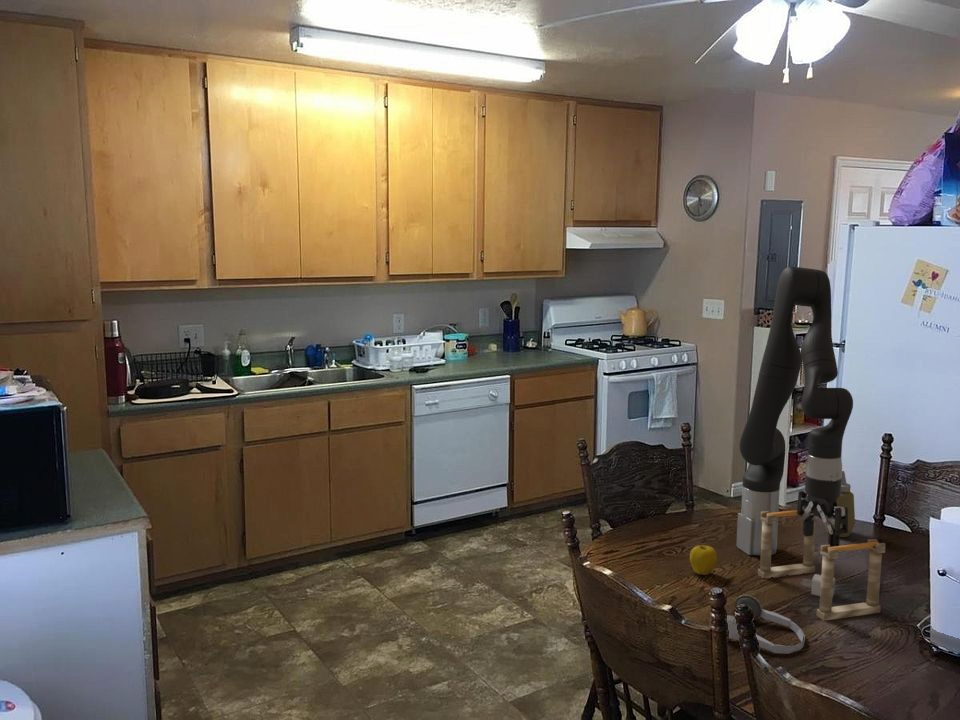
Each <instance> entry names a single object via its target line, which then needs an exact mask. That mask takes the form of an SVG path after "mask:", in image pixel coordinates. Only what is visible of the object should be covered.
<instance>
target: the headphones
mask: <svg viewBox="0 0 960 720" xmlns="http://www.w3.org/2000/svg"><path fill="white" fill-rule="evenodd" d="M722 589H723V590H726V591H730V592H732V593H730V594H729V596H728V598H729V599H730V600H731V601H733V600H732V598H731V597H730V596H731V595H734V594H735V592H734V591H733V590H732V589H729V588H725V587H724V588H723V587H722ZM734 602H735V603H734V607H735V609H736V606H738V605H740V604H745V605H749V606H750V607H751V608H752V610H753V612H754V620H753V621H757V620H758V619H760V617H761V618H763V619H764V620H766V621H769V622H773V623H776V624H779V625H782V626H785V627H789V629H791V630H792V631H793V632H794V633H795V634H796V636H797V638H798V639H799V641H800V642H799V643H797V644H792V645H782V644H776V643H775V644H774V643H773V642H771V641H769V640H767V639H765V638H763V637H762V636H760V635H758V634H756V637H757V640H758V642H759V646H760V647H759V648H762V649H764V650H768V651H770V652H772V653H773V654H786V655H787V654H791V653H795V652H799V651H800V650H801V651H802V649H803V648H804V645H805V641H806V636H805V633H804V632H803V630H802V628H801V627H800V626H798V624H796V623H795V622H794V621H792V620H791V619H790V618H788V617H786V616H785V615H782V614H780V613H777V612H774V611H770V610H766V609H763V608H762V605H761V604H760V601H759V600H758V599H757V598H756V597H754V596H752V595H749V594H742V595H739V596H738V597H737V598H736V600H735V601H734ZM727 623H728V630H729V639H733V640H738V641H739V634H738V630H737V624H736V619H735V615H731V614H728V615H727ZM739 642H740V641H739Z"/></svg>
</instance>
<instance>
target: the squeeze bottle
mask: <svg viewBox="0 0 960 720" xmlns="http://www.w3.org/2000/svg"><path fill="white" fill-rule="evenodd" d="M837 504H838V506H840V507H847V509H848V532H847V533H844V534H840V538H846V537H849V536H850V535H851V533H852V531H853V530H854V526H855V524H856V517H855V516H856V515H855V514H856V513H855V512H856V511H855V495H854V493H853V492H851V484H850V483H847V478H846V472H845V471H844V470H842V481H841V495H840V496H839V497H838V498H837ZM831 519H833V516H832V517H831V518H830V519H829V520H831ZM832 526H833V529H834V528H835V526H834V524H832ZM824 527H825V531H826V533H827V535H829V530H828V527H827V525H825V524H824ZM840 527H841V528H842V524H840Z"/></svg>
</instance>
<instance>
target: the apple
mask: <svg viewBox="0 0 960 720" xmlns="http://www.w3.org/2000/svg"><path fill="white" fill-rule="evenodd" d="M717 554H718V553H717V550H715V549H714V548H713V547H712V546H710V545H704V544H703V545H702V544H698V545H696V546H694V547H693V548H692V549H691V551H690V552H689V562H690V564H691V567H692V570H693V572H695V573H696V574H697V575H703V576H707V575H709V574H710V573H712V571H713V570H714V569H716V565H717V560H718V555H717Z"/></svg>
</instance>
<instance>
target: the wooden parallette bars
mask: <svg viewBox="0 0 960 720" xmlns="http://www.w3.org/2000/svg"><path fill="white" fill-rule="evenodd" d="M767 513H769V511H763V512H761V516H760V520H762V539H761V556H760V563H759V564H760V565H759V568H757V575H758V576H759V577H760V576H761V577H760V578H761V579H763V578H765V579H772V578H771V577H773V578H780V576H781V577H787V576H786V575H789V576H795V575H803V573H804V574H809V573H811V574H812V573H815V572H816V566H815V564H814V560H815V559H814V557H815V539H816V524H817V522H816V521H817V519H819V517H818V516H815V517H814V519H812V520H814V529H813V535H812V536H807V537H806V536H803V550H802V552H803V553H802V554H803V555H802V563H796V564H795V563H793V564H787V565H780V566H779V565H778V566H771V565H772V555H771V550H772V530H773V523H775V515H774V514H772V515H767V516H766V514H767ZM868 542H878V539H876V538H871V539H867V543H868ZM828 547H830V545H829V544H828V543H827V544H821V545H820V552H819V554H820V555H821V556H822V561H821V574H820V575H821V591H820V596H819V608H816V617H818V618H820V619H821V620H822V621H830V620H838V619H839V620H840V619H845V618H851V617H858V616H859V617H860V616H866V615H872V614H880V613H881V611H882V610H881V607H882V606H881V605H880V604H879V599H880V586H881V585H880V584H881V572H882V558H883V557H882V556H883V554H884V553H886V543H885V542H878V544H876V547H874V548H866V549H868V550H869V559H868V570H867V571H868V572H867V587H866V599H865V601H863V602H860V603H859V602H857V603H851V604H844V605H836V606H833V597H832V594H833V578H835V577H834V575H835V560H836V559H838V558H839V557H838V556H839V552H838V549H828V551H827V548H828Z"/></svg>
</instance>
